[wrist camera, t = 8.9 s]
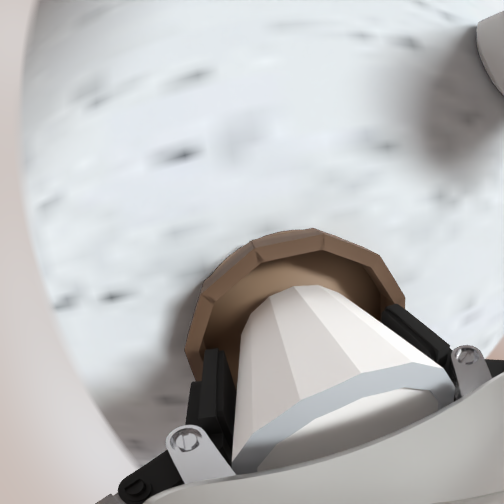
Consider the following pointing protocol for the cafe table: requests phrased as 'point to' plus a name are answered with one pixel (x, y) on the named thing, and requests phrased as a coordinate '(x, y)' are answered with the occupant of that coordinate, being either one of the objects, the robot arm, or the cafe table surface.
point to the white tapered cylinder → (325, 381)
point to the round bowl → (282, 286)
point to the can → (492, 47)
